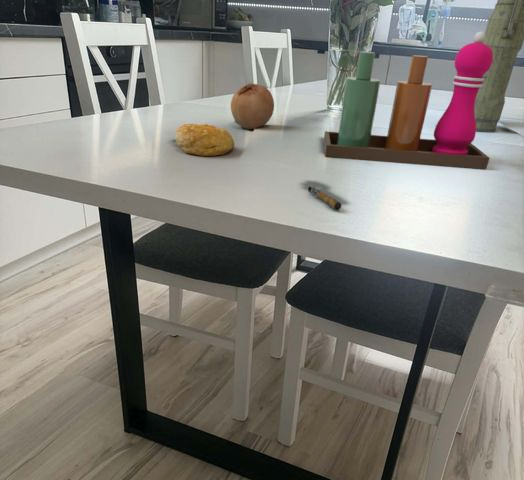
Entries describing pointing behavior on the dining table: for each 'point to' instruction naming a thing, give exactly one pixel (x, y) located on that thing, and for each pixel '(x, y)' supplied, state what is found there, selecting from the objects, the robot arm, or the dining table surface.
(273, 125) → the dining table surface
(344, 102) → the green bottle
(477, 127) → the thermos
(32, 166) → the dining table surface
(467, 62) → the pepper mill
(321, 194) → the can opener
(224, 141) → the bread roll
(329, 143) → the tray
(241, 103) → the onion
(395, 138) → the amber bottle
